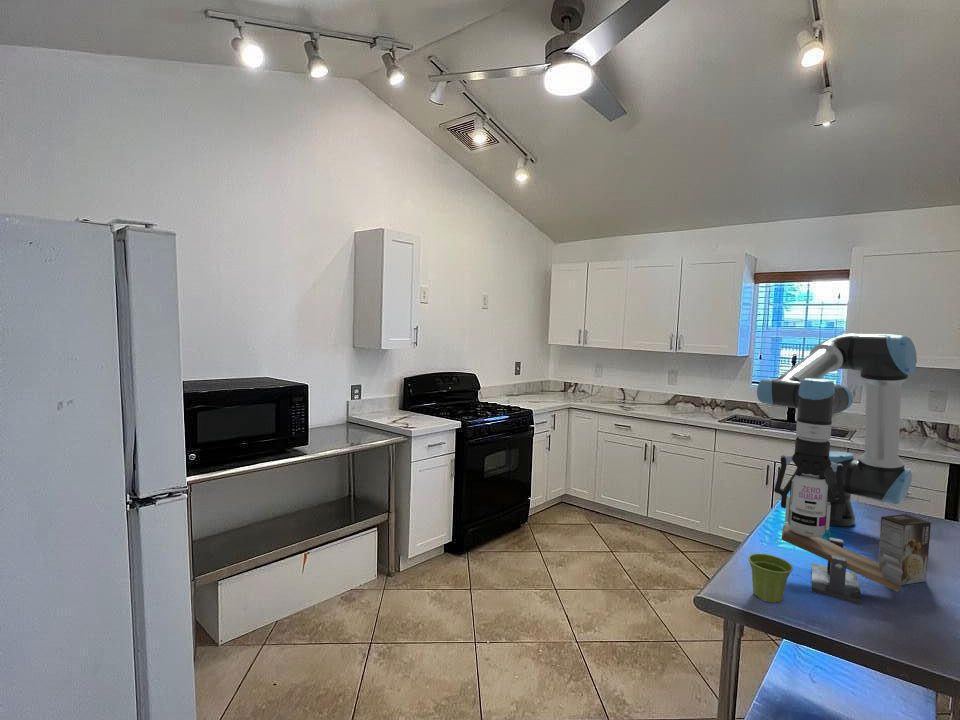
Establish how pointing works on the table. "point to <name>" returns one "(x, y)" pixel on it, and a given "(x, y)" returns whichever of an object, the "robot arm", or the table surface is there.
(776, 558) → the plant pot
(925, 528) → the coffee box
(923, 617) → the table surface
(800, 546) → the balance beam
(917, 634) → the table surface
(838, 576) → the stand
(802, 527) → the supplement can
